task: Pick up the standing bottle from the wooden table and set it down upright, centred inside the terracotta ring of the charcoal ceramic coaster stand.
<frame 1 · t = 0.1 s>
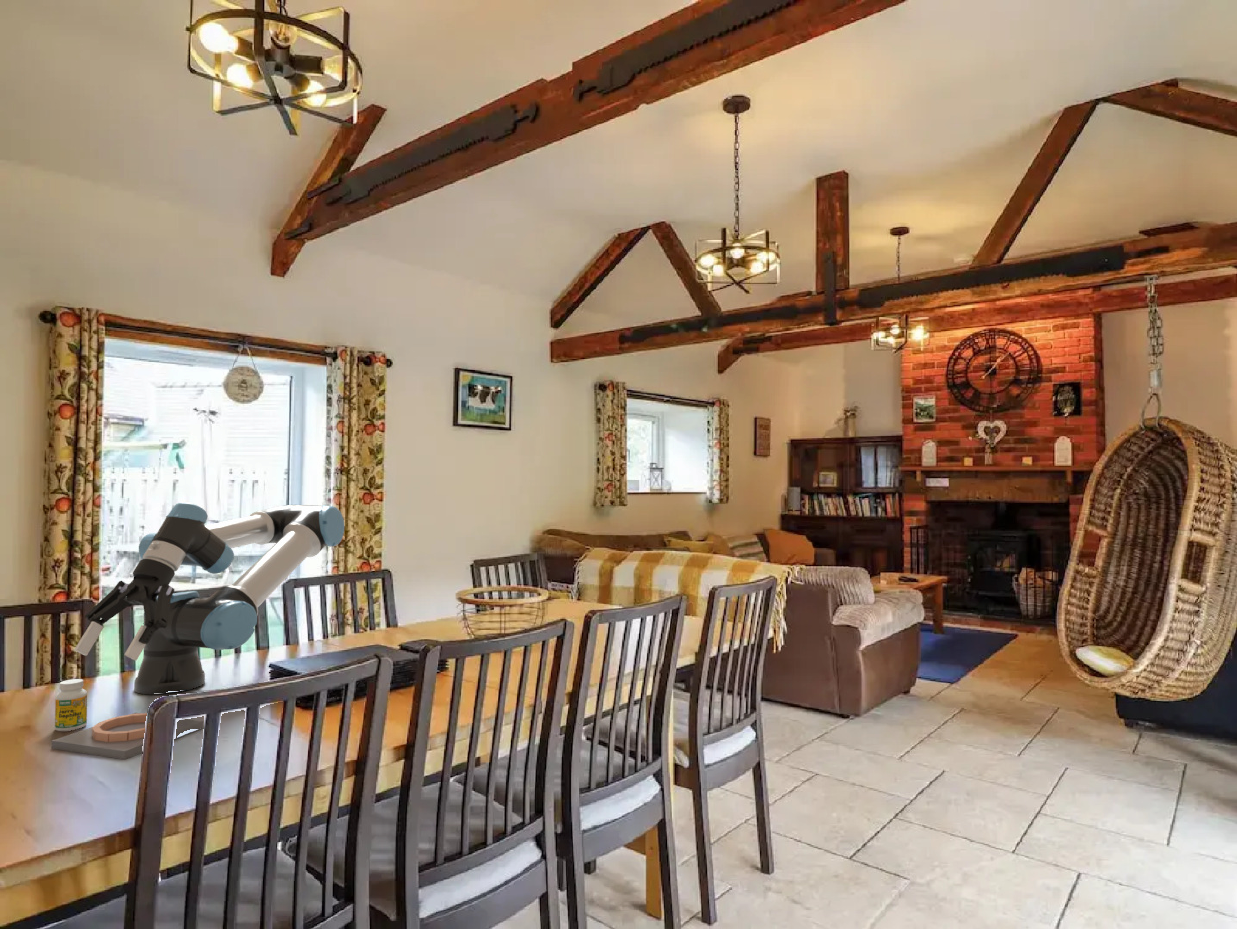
hand: (104, 655, 155), 15 cm above the table, tool tilted 35°, fingers open, 13 cm apart
supplement bottle: (70, 728, 155), on the table
coaster stand: (130, 737, 150), on the table
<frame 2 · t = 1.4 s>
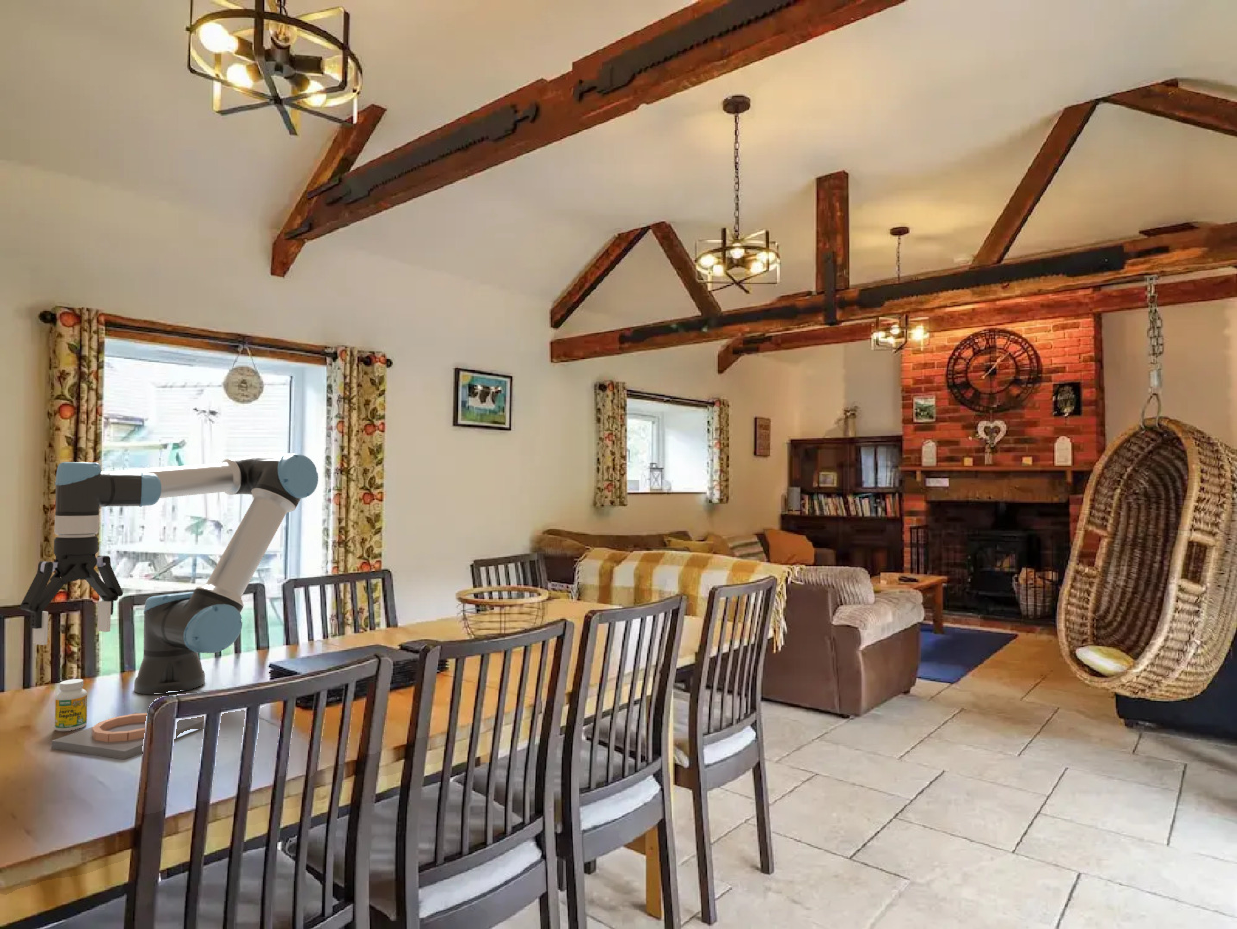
hand: (73, 637, 156), 19 cm above the table, tool pointing down, fingers open, 13 cm apart
nothing on the table moved.
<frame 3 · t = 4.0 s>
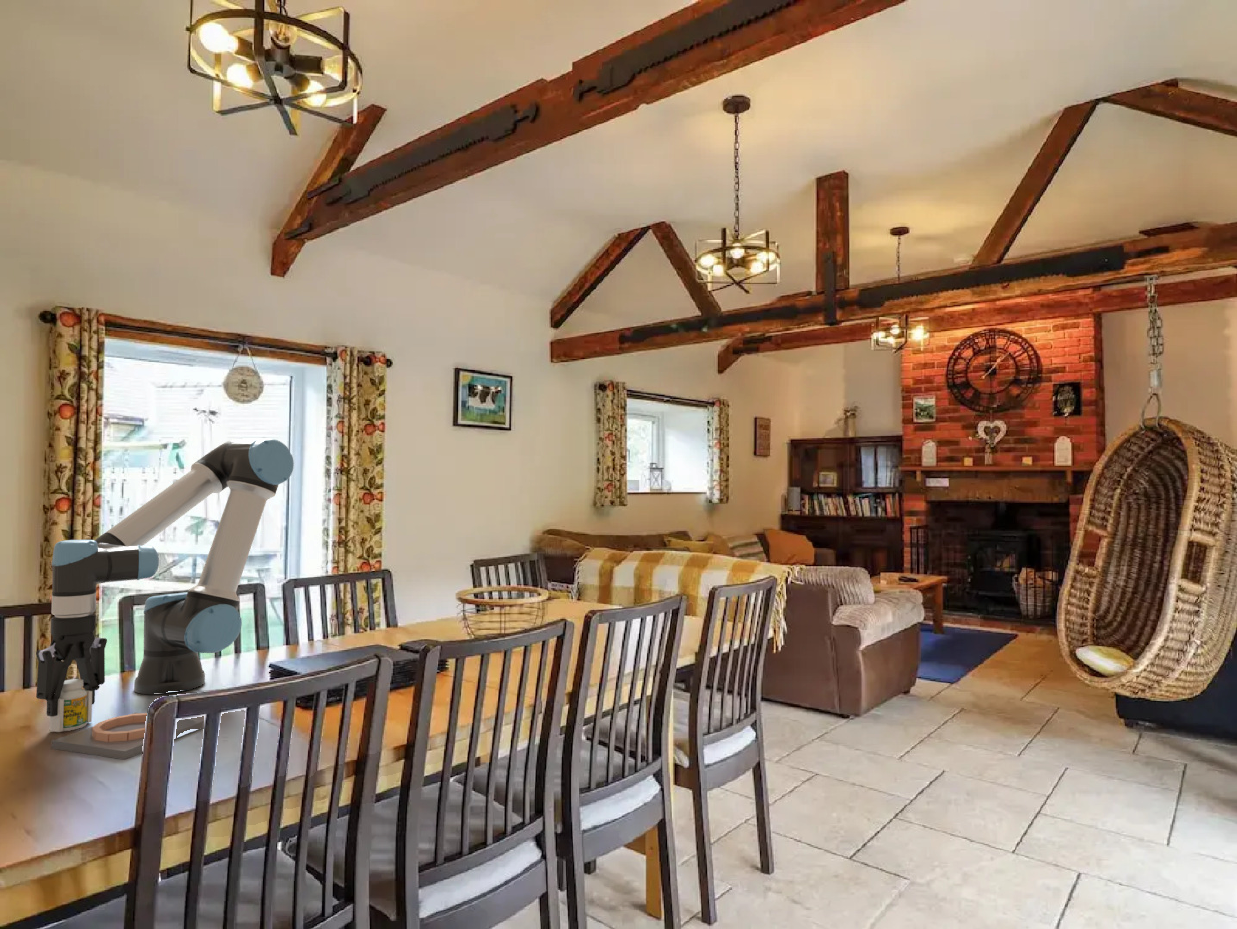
hand: (70, 725, 155), 0 cm above the table, tool pointing down, fingers closed on supplement bottle, 5 cm apart
supplement bottle: (70, 728, 155), on the table, touching gripper
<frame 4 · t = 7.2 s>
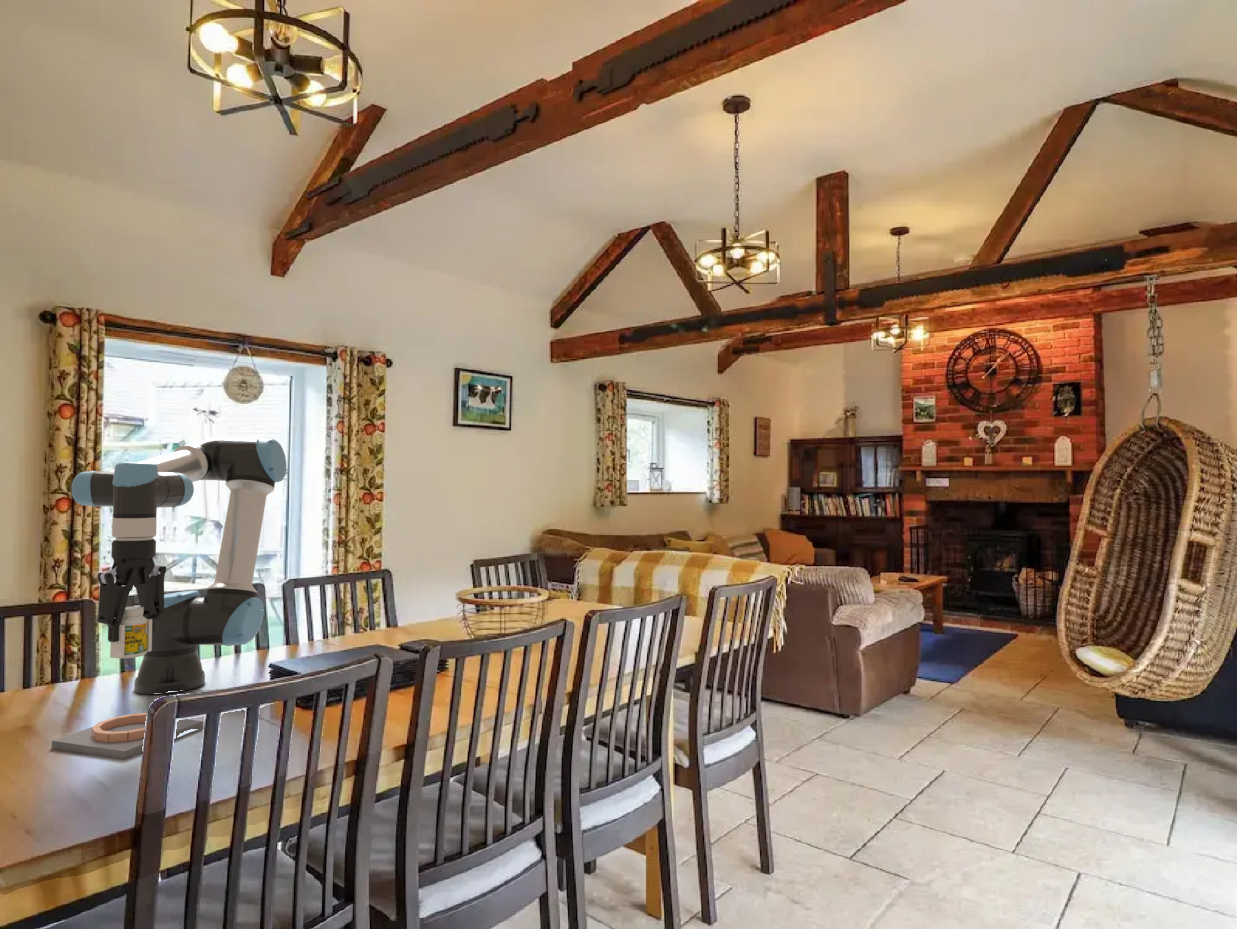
hand: (131, 653, 150), 17 cm above the table, tool pointing down, fingers closed on supplement bottle, 5 cm apart
supplement bottle: (131, 656, 150), point 16 cm above the table, touching gripper
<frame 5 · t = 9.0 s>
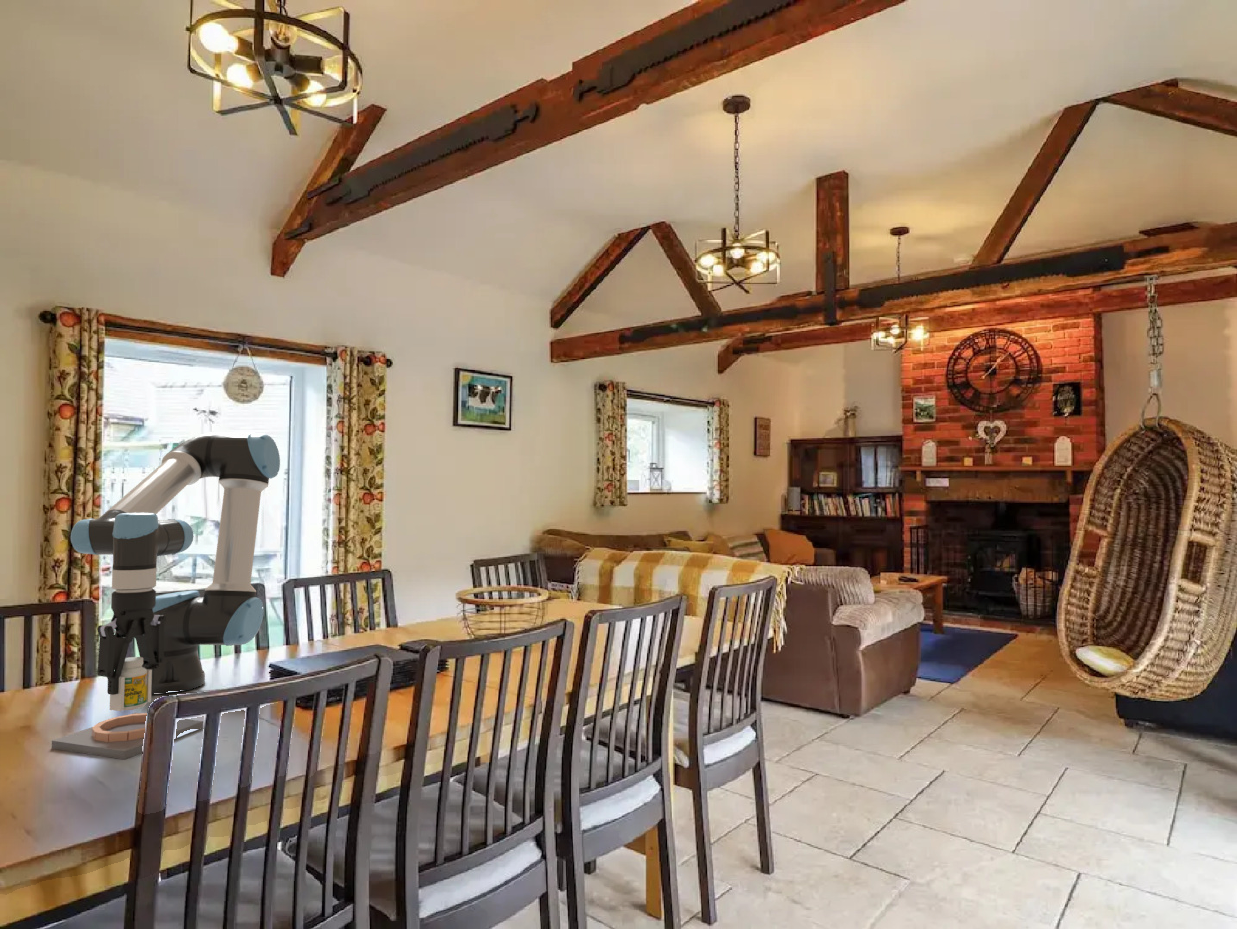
hand: (130, 705, 150), 7 cm above the table, tool pointing down, fingers closed on supplement bottle, 5 cm apart
supplement bottle: (130, 707, 150), point 6 cm above the table, touching gripper
when the fingers open (3 cm above the table, at t = 10.4 s): supplement bottle drops 1 cm, resting on coaster stand.
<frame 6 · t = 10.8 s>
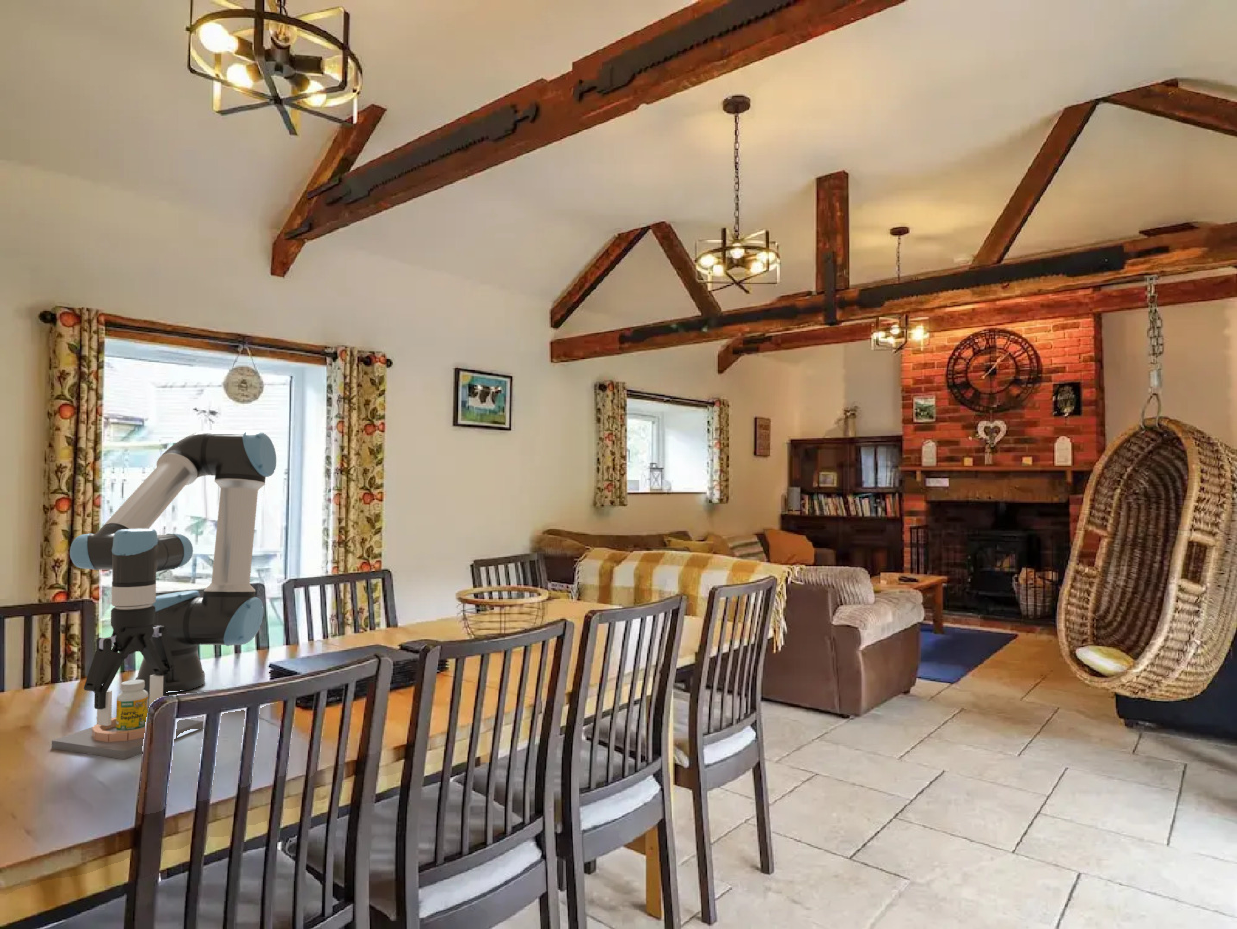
hand: (130, 715, 150), 4 cm above the table, tool pointing down, fingers open, 11 cm apart
supplement bottle: (131, 730, 150), point 1 cm above the table, touching coaster stand
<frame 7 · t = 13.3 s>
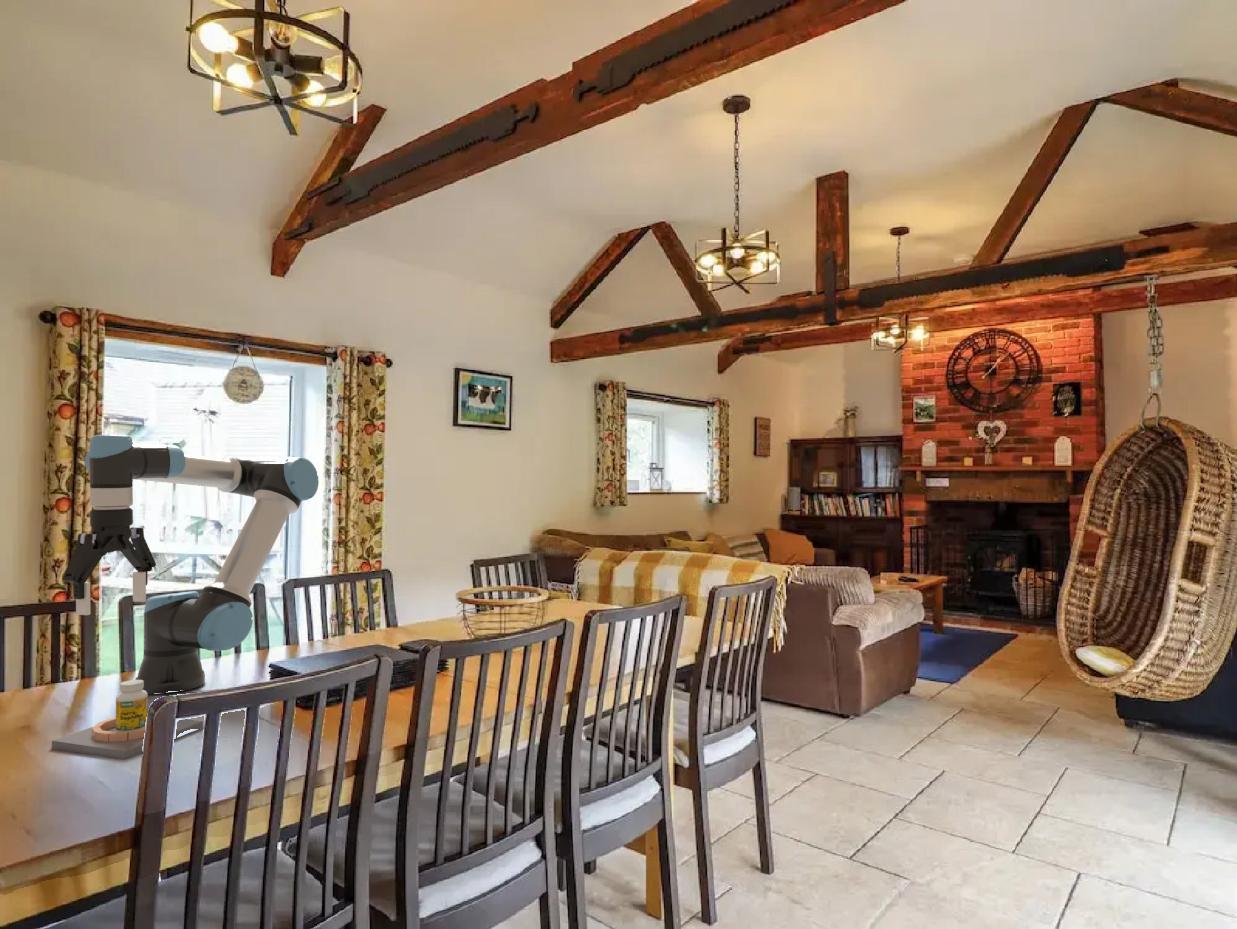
hand: (112, 607, 158), 25 cm above the table, tool pointing down, fingers open, 13 cm apart
nothing on the table moved.
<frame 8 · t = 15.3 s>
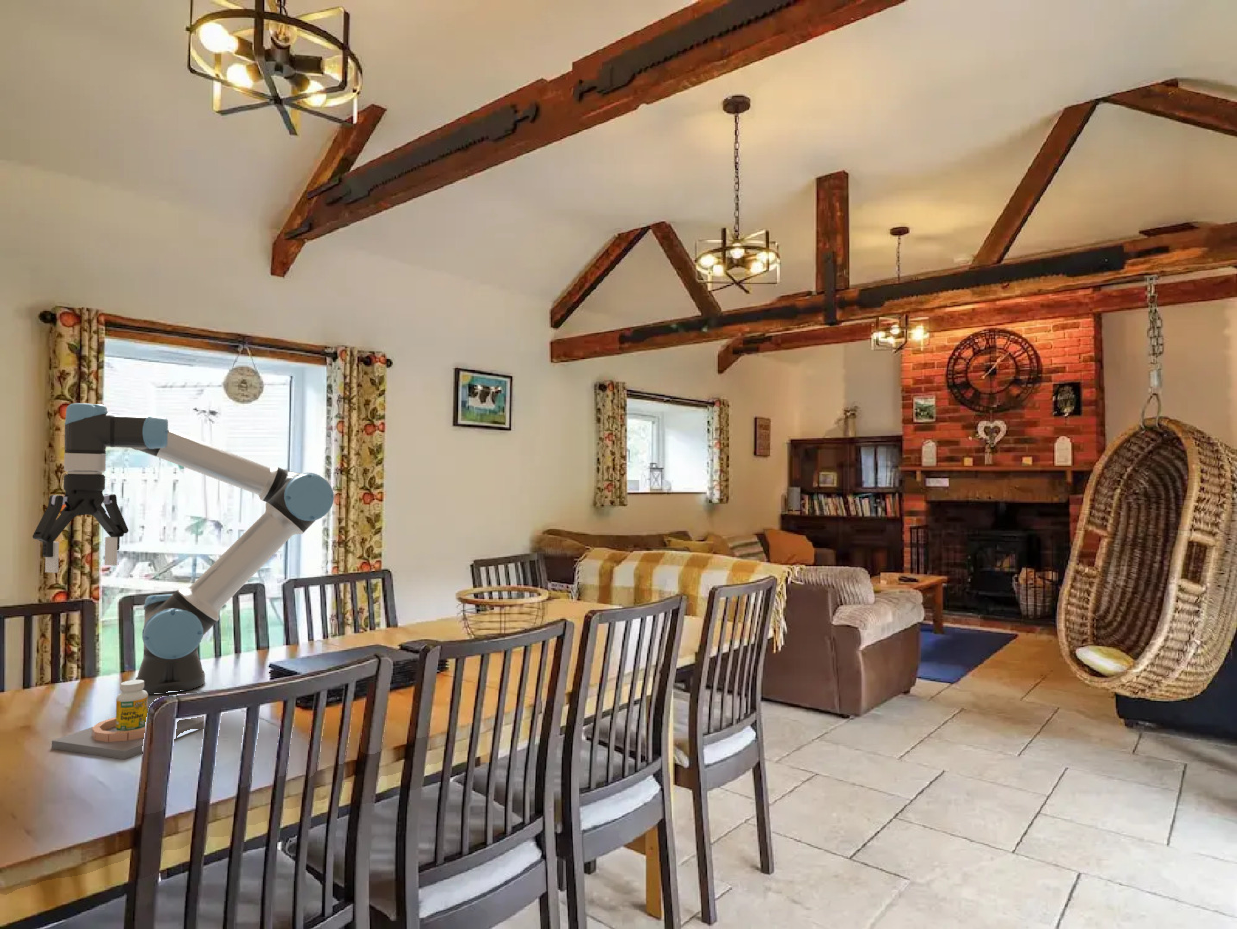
hand: (82, 568, 166), 32 cm above the table, tool pointing down, fingers open, 13 cm apart
nothing on the table moved.
at the end: supplement bottle 0.2 cm off-centre on the coaster stand, point 1.3 cm above the coaster stand's base; supplement bottle tilted 0°; the gripper is holding nothing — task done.
